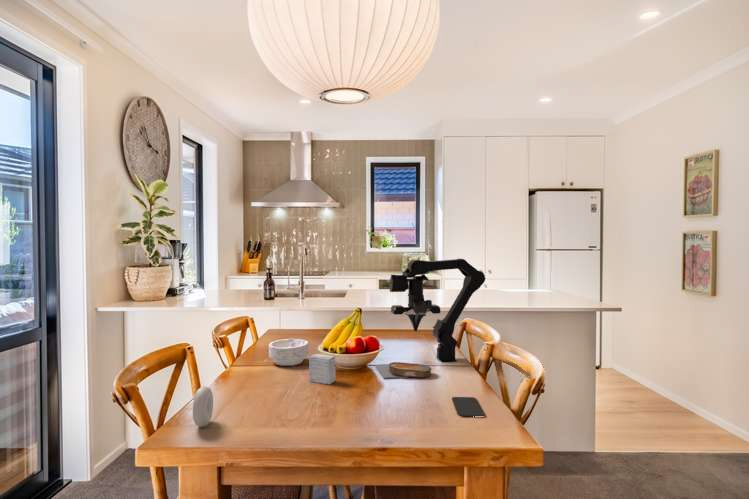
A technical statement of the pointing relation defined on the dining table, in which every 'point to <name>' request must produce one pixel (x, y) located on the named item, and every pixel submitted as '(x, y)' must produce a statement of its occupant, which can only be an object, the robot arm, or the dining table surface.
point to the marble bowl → (288, 351)
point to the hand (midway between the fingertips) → (415, 331)
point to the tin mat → (387, 372)
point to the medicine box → (322, 368)
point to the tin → (409, 369)
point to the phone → (467, 406)
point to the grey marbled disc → (203, 406)
